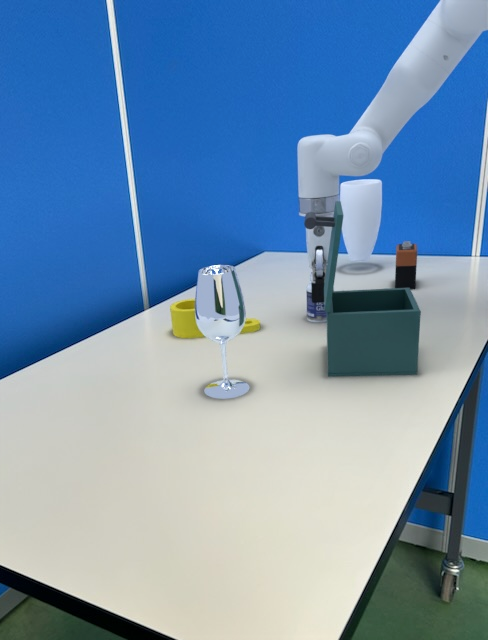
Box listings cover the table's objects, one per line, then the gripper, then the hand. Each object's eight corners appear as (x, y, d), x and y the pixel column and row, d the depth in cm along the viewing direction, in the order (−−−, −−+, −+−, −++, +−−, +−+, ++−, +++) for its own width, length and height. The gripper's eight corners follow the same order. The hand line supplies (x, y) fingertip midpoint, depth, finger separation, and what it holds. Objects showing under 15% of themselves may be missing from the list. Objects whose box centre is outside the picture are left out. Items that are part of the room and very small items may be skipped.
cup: (386, 272, 155) (389, 182, 145) (344, 277, 155) (344, 187, 146) (374, 263, 164) (376, 177, 155) (334, 267, 164) (334, 182, 155)
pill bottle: (316, 325, 125) (316, 278, 121) (301, 319, 129) (300, 273, 125) (339, 320, 127) (339, 272, 123) (323, 313, 131) (323, 268, 127)
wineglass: (244, 377, 105) (235, 260, 97) (256, 396, 98) (248, 271, 90) (199, 385, 104) (186, 267, 96) (208, 404, 97) (195, 279, 89)
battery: (394, 291, 140) (396, 246, 136) (394, 282, 146) (396, 240, 142) (415, 290, 139) (417, 245, 135) (414, 282, 145) (417, 239, 141)
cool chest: (406, 347, 110) (409, 287, 105) (416, 376, 99) (420, 311, 94) (326, 349, 113) (326, 291, 108) (327, 378, 102) (327, 314, 97)
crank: (169, 340, 126) (166, 312, 123) (177, 326, 133) (173, 299, 131) (259, 336, 123) (257, 307, 120) (261, 322, 130) (259, 295, 128)
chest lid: (340, 201, 101) (306, 199, 102) (343, 215, 90) (305, 212, 91) (328, 289, 108) (297, 286, 109) (330, 312, 97) (294, 309, 97)
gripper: (340, 211, 110) (340, 309, 118) (337, 197, 125) (337, 285, 133) (297, 214, 112) (300, 311, 119) (299, 200, 127) (302, 286, 134)
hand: (319, 296), depth 126 cm, fingers closed on pill bottle, 5 cm apart
